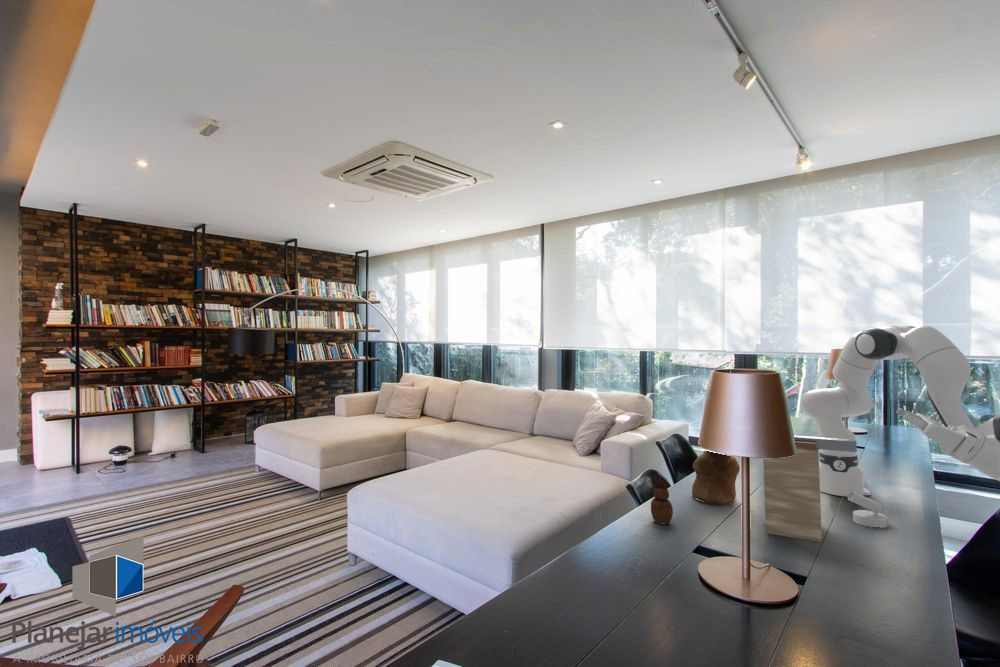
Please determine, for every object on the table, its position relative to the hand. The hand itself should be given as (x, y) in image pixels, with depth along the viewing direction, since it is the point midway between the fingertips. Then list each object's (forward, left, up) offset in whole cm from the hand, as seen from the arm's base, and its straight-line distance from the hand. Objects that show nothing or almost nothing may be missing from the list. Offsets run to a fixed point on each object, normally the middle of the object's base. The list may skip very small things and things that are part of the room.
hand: (900, 412), depth 134 cm
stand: (+2, -27, -37) cm, 46 cm away
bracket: (+5, -21, -11) cm, 24 cm away
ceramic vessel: (-14, -50, -37) cm, 64 cm away
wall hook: (-15, -7, -37) cm, 40 cm away
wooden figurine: (+15, -63, -37) cm, 75 cm away
